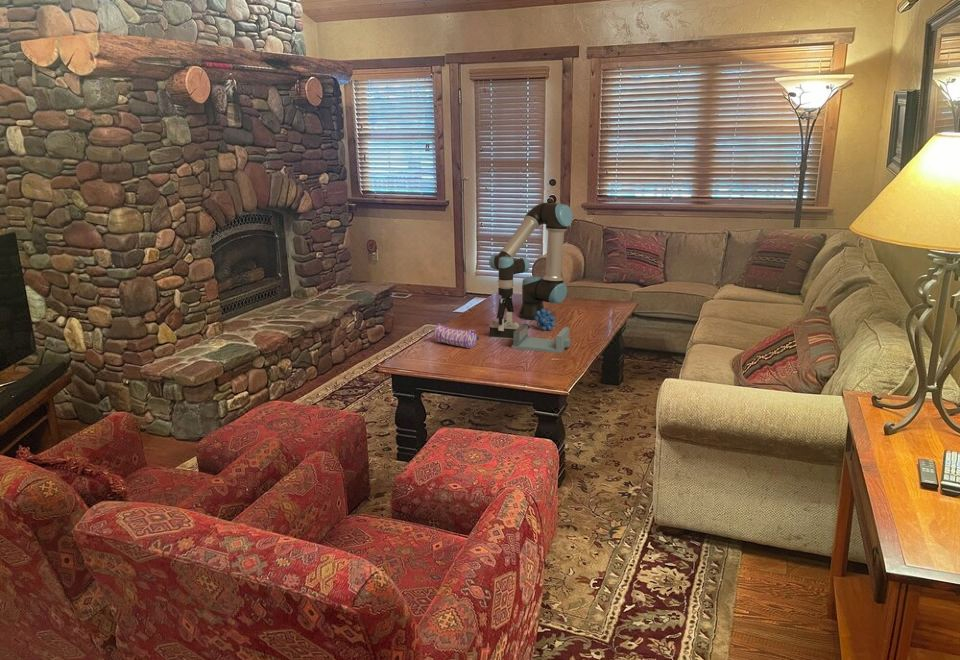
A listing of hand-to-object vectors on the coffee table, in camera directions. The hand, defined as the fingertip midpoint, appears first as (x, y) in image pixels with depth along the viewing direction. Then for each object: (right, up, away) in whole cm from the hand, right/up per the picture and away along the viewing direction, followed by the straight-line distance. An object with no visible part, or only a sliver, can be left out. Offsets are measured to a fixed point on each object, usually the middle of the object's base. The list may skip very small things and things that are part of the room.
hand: (505, 327), depth 366 cm
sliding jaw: (+8, -6, -11) cm, 15 cm away
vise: (+17, -9, -17) cm, 25 cm away
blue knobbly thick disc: (+21, -2, +9) cm, 23 cm away
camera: (0, -5, 0) cm, 5 cm away
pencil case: (-25, -9, -13) cm, 30 cm away
